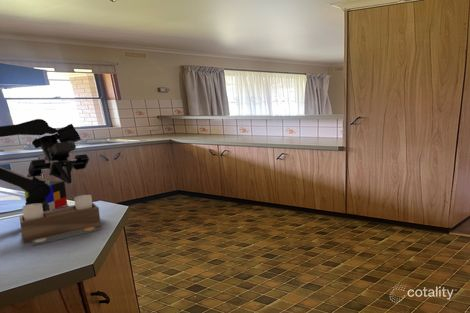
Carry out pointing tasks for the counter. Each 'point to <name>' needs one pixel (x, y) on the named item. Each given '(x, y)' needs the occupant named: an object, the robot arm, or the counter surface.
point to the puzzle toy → (55, 194)
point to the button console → (59, 222)
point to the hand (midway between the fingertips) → (69, 182)
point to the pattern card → (63, 235)
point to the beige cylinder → (83, 202)
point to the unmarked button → (33, 211)
